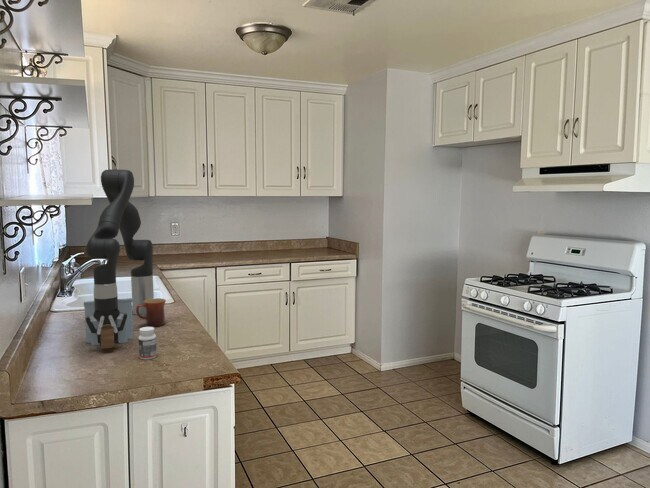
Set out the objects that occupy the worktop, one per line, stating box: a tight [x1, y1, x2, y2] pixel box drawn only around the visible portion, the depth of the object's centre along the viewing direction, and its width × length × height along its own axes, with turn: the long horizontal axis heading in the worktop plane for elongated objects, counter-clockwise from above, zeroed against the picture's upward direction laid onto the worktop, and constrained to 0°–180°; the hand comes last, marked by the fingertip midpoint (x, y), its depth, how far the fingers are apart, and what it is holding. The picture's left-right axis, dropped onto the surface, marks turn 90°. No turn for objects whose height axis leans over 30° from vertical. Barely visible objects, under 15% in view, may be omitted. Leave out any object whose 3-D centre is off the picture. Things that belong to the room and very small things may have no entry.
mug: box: [136, 298, 167, 328], centre depth 204 cm, size 12×9×10 cm
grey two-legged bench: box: [83, 297, 134, 347], centre depth 183 cm, size 6×16×15 cm, turn 110°
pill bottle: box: [138, 326, 158, 361], centre depth 167 cm, size 6×6×10 cm
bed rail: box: [100, 324, 115, 349], centre depth 177 cm, size 14×4×6 cm, turn 20°
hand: (108, 343), depth 175 cm, fingers closed on bed rail, 4 cm apart
